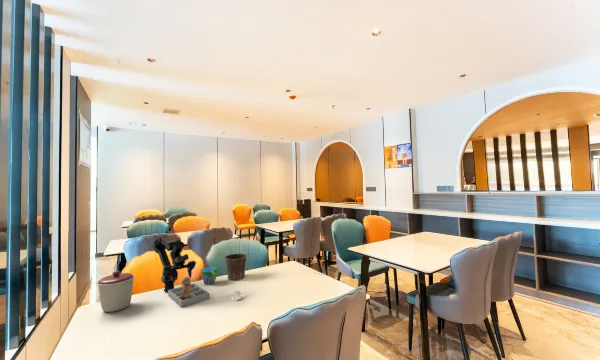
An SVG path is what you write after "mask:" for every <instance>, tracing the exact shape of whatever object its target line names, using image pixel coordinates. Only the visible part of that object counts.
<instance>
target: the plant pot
mask: <svg viewBox="0 0 600 360" xmlns="http://www.w3.org/2000/svg"><path fill="white" fill-rule="evenodd" d="M247 257H248V255H247V254H245V253H232V254H228V255H226V256H224V260H225V265H226V273H227V275H226V276H227V280H228V281H229V280H230V281H239V280H240V279H241V280H242V279H244V278H245V276H246V275H245V274H246V261H247Z"/></svg>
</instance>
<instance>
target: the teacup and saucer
mask: <svg viewBox="0 0 600 360" xmlns="http://www.w3.org/2000/svg"><path fill="white" fill-rule="evenodd" d="M234 298H235V299H234ZM245 298H246V296H245V295H243V294H241V290H235V291H234V296H231V300H232V301H241V300H243V299H245Z"/></svg>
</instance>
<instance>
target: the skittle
mask: <svg viewBox="0 0 600 360" xmlns="http://www.w3.org/2000/svg"><path fill="white" fill-rule="evenodd" d="M191 284H192V283H191V278H190V277H189V276H184V277H183V278H182V280H181V287H182V300H186V299H189V298H191Z"/></svg>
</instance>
